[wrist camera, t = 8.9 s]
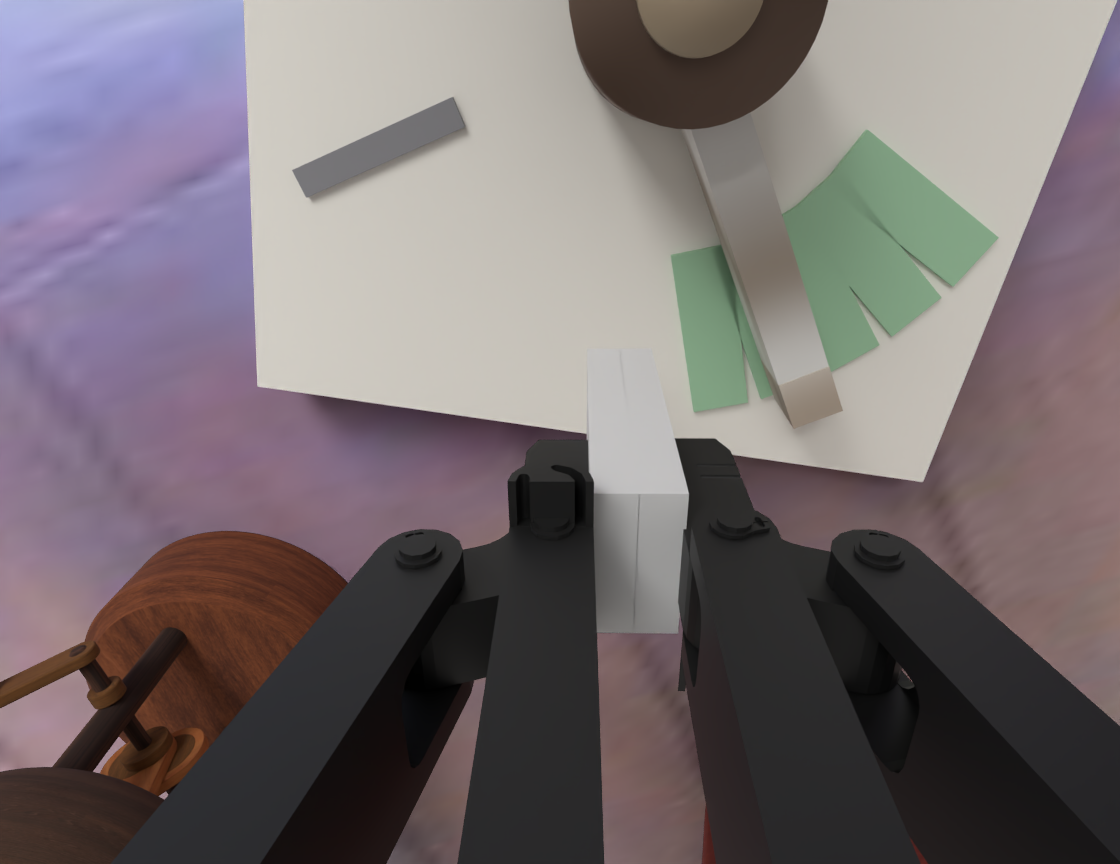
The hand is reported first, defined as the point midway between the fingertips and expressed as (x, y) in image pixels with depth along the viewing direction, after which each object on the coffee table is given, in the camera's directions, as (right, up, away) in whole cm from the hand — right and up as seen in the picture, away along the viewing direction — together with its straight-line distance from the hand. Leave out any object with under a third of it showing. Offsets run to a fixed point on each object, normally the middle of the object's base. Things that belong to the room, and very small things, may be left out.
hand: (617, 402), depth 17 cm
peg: (+3, +6, +3) cm, 8 cm away
